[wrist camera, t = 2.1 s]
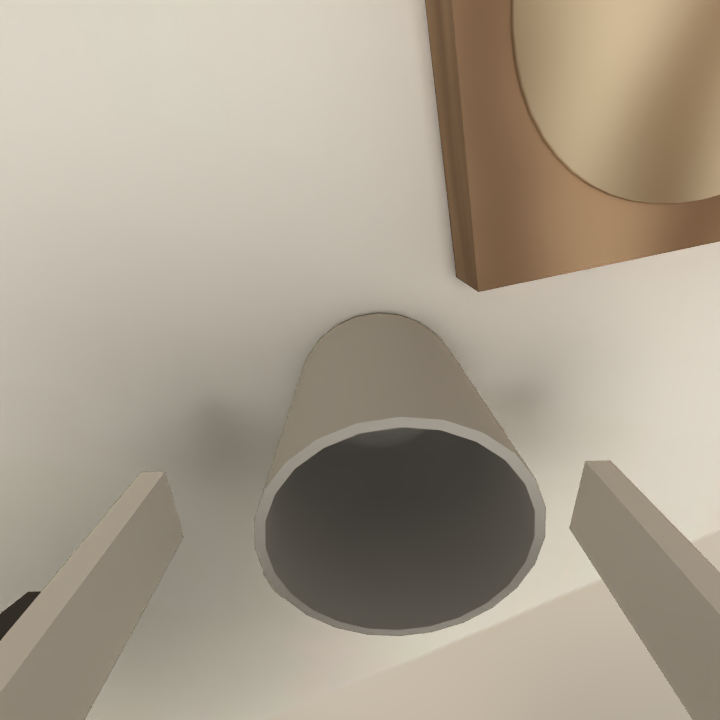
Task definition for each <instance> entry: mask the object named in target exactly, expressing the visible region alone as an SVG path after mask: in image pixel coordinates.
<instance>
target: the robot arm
mask: <svg viewBox="0 0 720 720" xmlns="http://www.w3.org/2000/svg"><path fill="white" fill-rule="evenodd" d="M569 529H570V530H571V532H572V533H573V535H574V536H575V538H576V539H577V541H578V542H579V544H580V546H581V547H582V549H583V550H584V552H585V553H586V555H587V556H588V558H589V560H590V561H591V563H592V564H593V566H594V567H595V569H596V570H597V572H598V574H599V575H600V577H601V578H602V580H603V581H604V583H605V584H606V586H607V587H608V589H609V591H610V592H611V594H612V595H613V597H614V598H615V600H616V601H617V603H618V605H619V606H620V608H621V609H622V611H623V612H624V614H625V615H626V617H627V619H628V620H629V622H630V623H631V625H632V626H633V628H634V629H635V631H636V633H637V634H638V636H639V637H640V639H641V640H642V642H643V643H644V645H645V646H646V648H647V650H648V651H649V653H650V654H651V656H652V657H653V659H654V660H655V662H656V664H657V665H658V667H659V668H660V670H661V671H662V673H663V674H664V676H665V678H666V679H667V681H668V682H669V684H670V685H671V687H672V688H673V690H674V691H675V693H676V695H677V696H678V698H679V699H680V701H681V702H682V704H683V705H684V707H685V709H686V710H687V712H688V713H689V715H690V716H691V718H692V719H693V720H720V572H719V571H718V570H717V569H716V568H715V567H714V566H713V565H712V564H711V563H710V562H709V561H708V560H707V559H706V558H705V557H704V556H703V555H702V554H701V553H700V552H699V551H698V550H697V549H696V548H695V547H694V546H693V544H692V543H691V542H690V541H689V540H688V539H687V538H686V537H685V536H684V535H683V534H682V533H681V532H680V531H679V530H678V529H677V528H676V527H675V526H674V525H673V524H672V523H671V522H670V521H669V520H668V519H667V518H666V517H665V516H664V515H663V514H662V513H661V512H660V511H659V510H658V509H657V508H656V507H655V506H654V505H653V504H652V503H651V502H650V501H649V500H648V498H647V497H646V496H645V495H644V494H643V493H642V492H641V491H640V490H639V489H638V488H637V487H636V486H635V485H634V484H633V483H632V482H631V481H630V480H629V479H628V478H627V477H626V476H625V475H624V474H623V473H622V472H621V471H620V470H619V469H618V468H617V467H616V466H615V465H614V464H613V463H612V462H611V461H585V465H584V469H583V473H582V477H581V481H580V486H579V490H578V494H577V498H576V502H575V507H574V511H573V515H572V519H571V524H570V528H569ZM183 537H184V536H183V532H182V529H181V525H180V522H179V519H178V515H177V512H176V508H175V505H174V501H173V498H172V494H171V491H170V487H169V484H168V480H167V477H166V473H165V472H141V473H140V474H139V475H138V476H137V478H136V479H135V480H134V481H133V482H132V484H131V485H130V486H129V487H128V488H127V490H126V491H125V492H124V493H123V494H122V496H121V497H120V498H119V499H118V500H117V502H116V503H115V504H114V505H113V506H112V508H111V509H110V510H109V511H108V512H107V514H106V515H105V516H104V517H103V518H102V519H101V521H100V522H99V523H98V524H97V525H96V527H95V528H94V529H93V530H92V531H91V533H90V534H89V535H88V536H87V537H86V539H85V540H84V541H83V542H82V543H81V545H80V546H79V547H78V548H77V549H76V551H75V552H74V553H73V554H72V555H71V557H70V558H69V559H68V560H67V561H66V563H65V564H64V565H63V566H62V567H61V569H60V570H59V571H58V572H57V573H56V575H55V576H54V577H53V578H52V579H51V581H50V582H49V583H48V584H47V585H46V587H45V588H44V589H43V590H42V591H41V592H27V593H26V594H25V595H24V596H22V597H21V598H20V599H19V600H17V601H16V602H15V603H13V604H12V605H11V606H10V607H8V608H7V609H6V610H5V611H3V612H2V613H1V614H0V720H85V718H86V716H87V714H88V712H89V711H90V709H91V707H92V705H93V703H94V701H95V700H96V698H97V696H98V694H99V692H100V690H101V688H102V687H103V685H104V683H105V681H106V679H107V677H108V676H109V674H110V672H111V670H112V668H113V666H114V664H115V663H116V661H117V659H118V657H119V655H120V653H121V652H122V650H123V648H124V646H125V644H126V642H127V640H128V639H129V637H130V635H131V633H132V631H133V629H134V628H135V626H136V624H137V622H138V620H139V618H140V616H141V615H142V613H143V611H144V609H145V607H146V605H147V603H148V602H149V600H150V598H151V596H152V594H153V592H154V591H155V589H156V587H157V585H158V583H159V581H160V579H161V578H162V576H163V574H164V572H165V570H166V568H167V567H168V565H169V563H170V561H171V559H172V557H173V555H174V554H175V552H176V550H177V548H178V546H179V544H180V543H181V541H182V539H183Z"/></svg>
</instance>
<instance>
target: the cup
mask: <svg viewBox="0 0 720 720" xmlns="http://www.w3.org/2000/svg"><path fill="white" fill-rule="evenodd" d="M545 520H546V507H545V504H544V501H543V498H542V496H541V493H540V490H539V487H538V484H537V481H536V479H535V477H534V476H533V474H532V473H531V471H530V470H529V468H528V467H527V465H526V464H525V462H524V461H523V459H522V458H521V456H520V455H519V453H518V452H517V450H516V449H515V447H514V446H513V444H512V443H511V441H510V440H509V438H508V437H507V435H506V434H505V432H504V431H503V429H502V428H501V426H500V425H499V423H498V422H497V420H496V419H495V417H494V416H493V414H492V413H491V411H490V410H489V408H488V407H487V405H486V404H485V402H484V401H483V399H482V398H481V396H480V395H479V393H478V392H477V390H476V389H475V387H474V386H473V384H472V383H471V381H470V380H469V378H468V377H467V375H466V374H465V372H464V371H463V369H462V368H461V366H460V365H459V363H458V362H457V360H456V359H455V357H454V356H453V354H452V353H451V352H450V351H449V349H448V348H447V347H446V346H445V344H444V343H443V342H442V341H441V339H440V338H439V337H438V336H437V335H436V334H435V333H433V332H432V331H431V330H429V329H428V328H426V327H425V326H424V325H422V324H421V323H419V322H417V321H414V320H411V319H408V318H406V317H403V316H400V315H392V314H380V313H376V314H370V315H364V316H358V317H355V318H352V319H350V320H348V321H346V322H344V323H341V324H339V325H337V326H335V327H334V328H333V329H332V330H330V331H329V332H328V333H327V334H326V335H324V336H323V337H322V338H321V339H320V340H319V341H318V343H317V344H316V345H315V347H314V348H313V350H312V351H311V353H310V354H309V356H308V357H307V359H306V361H305V364H304V367H303V370H302V373H301V376H300V379H299V382H298V385H297V388H296V391H295V394H294V398H293V401H292V404H291V407H290V410H289V413H288V416H287V419H286V422H285V426H284V429H283V432H282V435H281V438H280V441H279V444H278V447H277V450H276V454H275V457H274V460H273V463H272V466H271V469H270V472H269V475H268V478H267V482H266V485H265V488H264V491H263V494H262V497H261V500H260V503H259V507H258V510H257V513H256V516H255V519H254V527H255V550H256V552H257V555H258V558H259V560H260V563H261V566H262V568H263V573H264V576H265V577H266V579H267V581H268V582H269V584H270V585H271V587H272V589H273V590H274V591H275V592H277V593H278V594H279V595H280V596H281V597H282V598H285V599H286V600H287V601H289V602H290V603H291V604H293V605H294V606H296V607H297V608H298V609H300V610H301V611H302V612H304V613H305V614H306V615H308V616H310V617H313V618H315V619H317V620H320V621H322V622H324V623H326V624H329V625H331V626H333V627H336V628H340V629H345V630H349V631H353V632H358V633H362V634H367V635H388V636H404V635H412V634H420V633H428V632H434V631H437V630H441V629H444V628H447V627H450V626H454V625H457V624H460V623H464V622H466V621H468V620H470V619H471V618H473V617H475V616H477V615H479V614H481V613H483V612H485V611H487V610H489V609H491V608H493V607H494V606H495V605H496V604H498V603H499V602H500V601H501V600H503V599H504V598H505V597H506V596H507V595H509V594H510V593H511V592H512V591H514V590H515V589H516V588H517V587H518V586H519V584H520V583H521V582H522V580H523V579H524V578H525V576H526V575H527V574H528V572H529V571H530V570H531V568H532V567H533V566H534V565H535V562H536V560H537V557H538V554H539V552H540V549H541V546H542V544H543V541H544V538H545Z"/></svg>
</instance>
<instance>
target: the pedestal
mask: <svg viewBox="0 0 720 720" xmlns="http://www.w3.org/2000/svg"><path fill="white" fill-rule="evenodd" d="M425 3H426V12H427V20H428V29H429V38H430V47H431V56H432V65H433V74H434V83H435V91H436V100H437V109H438V118H439V127H440V136H441V145H442V154H443V162H444V171H445V180H446V189H447V198H448V207H449V216H450V224H451V233H452V242H453V251H454V260H455V269H456V277H457V278H459V279H460V280H462V281H463V282H465V283H466V284H468V285H469V286H471V287H472V288H474V289H475V290H476V291H478V292H480V291H485V290H490V289H494V288H499V287H504V286H509V285H513V284H518V283H523V282H528V281H533V280H537V279H542V278H547V277H552V276H556V275H561V274H566V273H571V272H575V271H580V270H585V269H590V268H595V267H599V266H604V265H609V264H614V263H618V262H623V261H628V260H633V259H637V258H642V257H647V256H652V255H657V254H661V253H666V252H671V251H676V250H680V249H685V248H690V247H695V246H699V245H704V244H709V243H714V242H719V241H720V0H425Z"/></svg>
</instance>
